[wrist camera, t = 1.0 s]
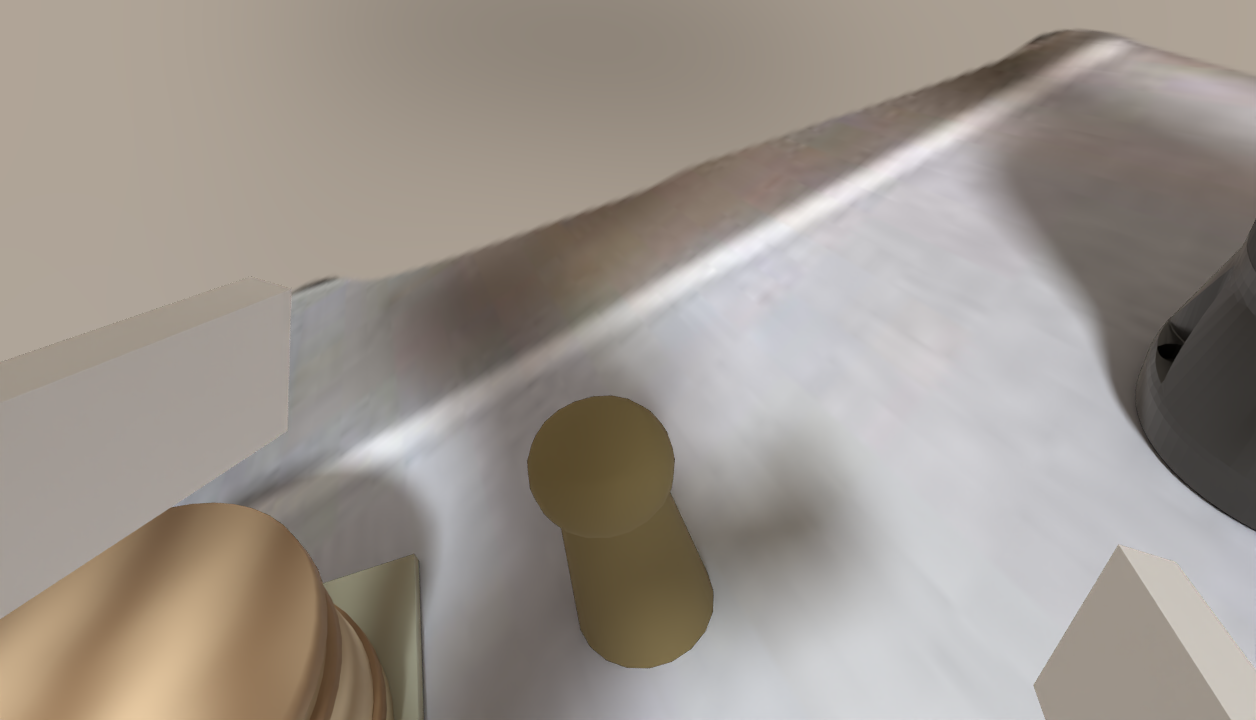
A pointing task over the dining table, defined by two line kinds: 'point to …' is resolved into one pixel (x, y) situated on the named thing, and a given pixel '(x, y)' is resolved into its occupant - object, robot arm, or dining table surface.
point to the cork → (621, 530)
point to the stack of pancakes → (215, 631)
